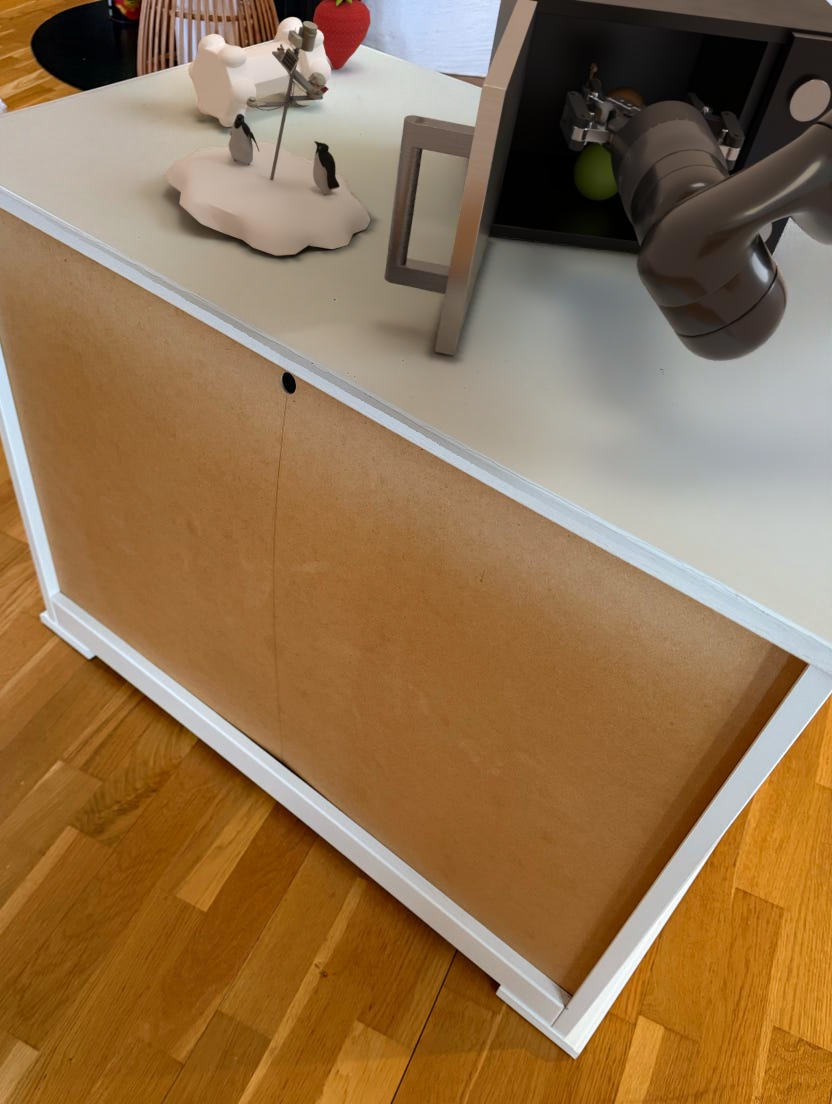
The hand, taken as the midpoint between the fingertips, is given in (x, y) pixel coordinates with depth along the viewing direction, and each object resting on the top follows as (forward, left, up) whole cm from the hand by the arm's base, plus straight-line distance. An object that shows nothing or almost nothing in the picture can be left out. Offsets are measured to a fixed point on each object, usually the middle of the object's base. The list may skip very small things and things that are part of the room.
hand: (637, 98), depth 81 cm
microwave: (-7, -5, -13) cm, 16 cm away
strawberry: (-5, -50, -13) cm, 52 cm away
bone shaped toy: (+12, -42, -13) cm, 45 cm away
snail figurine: (-5, -6, -12) cm, 15 cm away
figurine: (+25, -21, -13) cm, 35 cm away
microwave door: (+20, -1, -13) cm, 24 cm away
